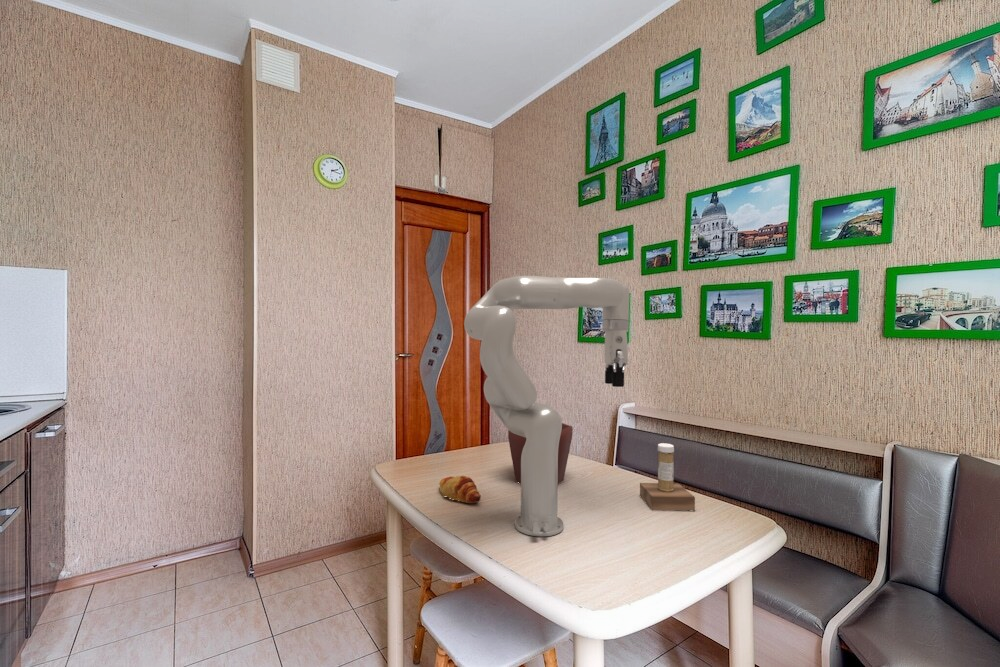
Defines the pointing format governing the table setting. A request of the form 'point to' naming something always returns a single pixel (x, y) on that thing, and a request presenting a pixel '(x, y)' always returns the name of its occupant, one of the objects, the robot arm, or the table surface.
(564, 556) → the table surface
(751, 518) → the table surface
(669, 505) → the walnut plinth
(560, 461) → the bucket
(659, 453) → the sprinkles bottle
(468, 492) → the croissant
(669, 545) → the table surface
